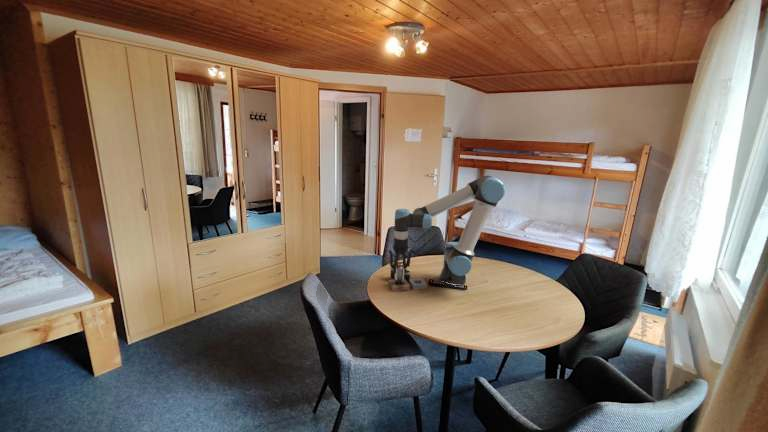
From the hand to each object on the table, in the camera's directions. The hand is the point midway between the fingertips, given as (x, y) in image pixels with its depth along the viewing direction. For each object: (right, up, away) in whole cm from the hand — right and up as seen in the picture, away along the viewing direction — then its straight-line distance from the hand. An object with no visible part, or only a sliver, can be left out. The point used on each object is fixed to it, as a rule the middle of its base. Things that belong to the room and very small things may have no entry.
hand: (399, 278), depth 181 cm
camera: (+2, -3, +12) cm, 13 cm away
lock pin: (0, -4, +1) cm, 4 cm away
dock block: (0, -5, +1) cm, 5 cm away
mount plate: (+11, -5, +4) cm, 12 cm away
